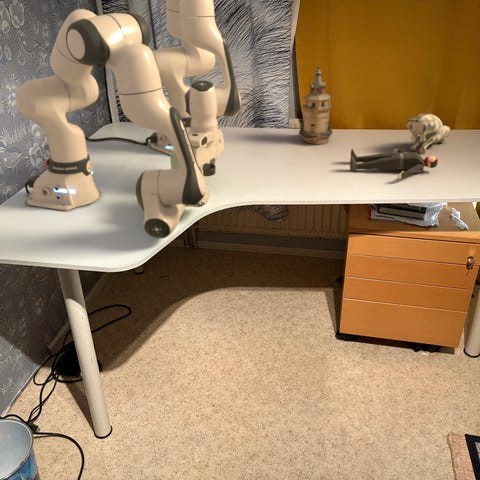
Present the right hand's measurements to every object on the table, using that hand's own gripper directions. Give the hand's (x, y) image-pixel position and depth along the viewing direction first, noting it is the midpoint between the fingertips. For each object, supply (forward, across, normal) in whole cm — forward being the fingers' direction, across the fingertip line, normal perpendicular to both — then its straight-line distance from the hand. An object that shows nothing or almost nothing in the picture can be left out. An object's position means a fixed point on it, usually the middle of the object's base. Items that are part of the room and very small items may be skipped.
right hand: (206, 173), depth 181 cm
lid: (-2, 0, 0) cm, 2 cm away
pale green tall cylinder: (+4, +16, 0) cm, 17 cm away
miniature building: (+4, -58, +18) cm, 61 cm away
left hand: (-2, +16, 0) cm, 16 cm away
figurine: (+4, -68, +60) cm, 91 cm away
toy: (+4, -39, +54) cm, 67 cm away
